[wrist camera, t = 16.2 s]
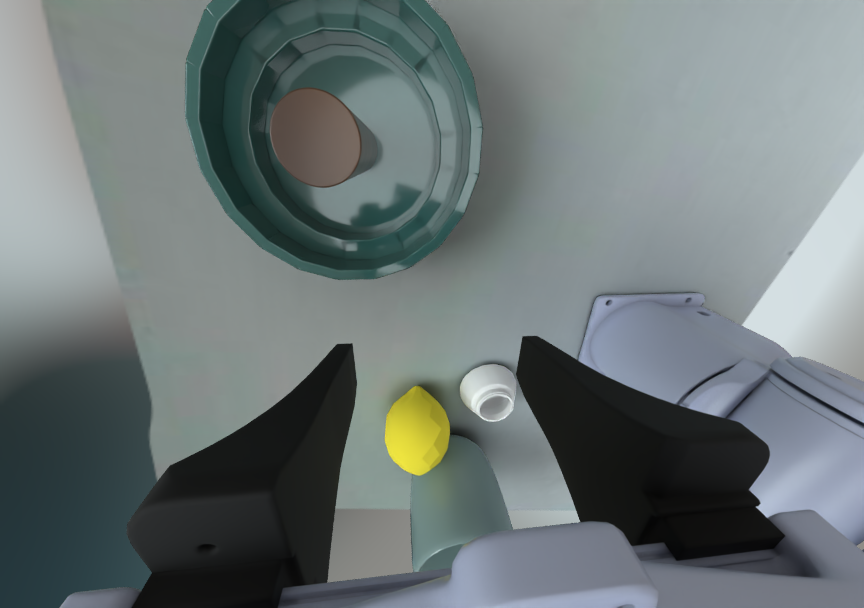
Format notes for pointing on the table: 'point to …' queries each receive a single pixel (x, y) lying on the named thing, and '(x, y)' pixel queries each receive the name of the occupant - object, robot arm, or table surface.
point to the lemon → (417, 431)
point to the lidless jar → (489, 392)
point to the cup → (454, 505)
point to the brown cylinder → (320, 138)
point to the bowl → (366, 97)
